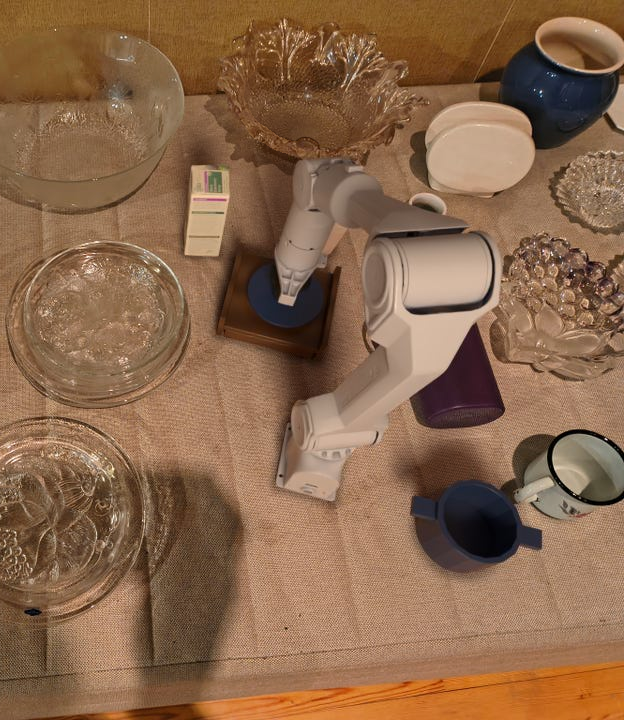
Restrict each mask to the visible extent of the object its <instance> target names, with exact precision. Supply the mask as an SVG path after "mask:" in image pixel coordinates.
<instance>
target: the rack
mask: <svg viewBox="0 0 624 720" xmlns="http://www.w3.org/2000/svg"><path fill="white" fill-rule="evenodd" d="M245 247H246V243H245V242H243V241H242V242H241V241H240V242H239V246H238V250H237V254H236V257H235V261H234V265H233V267H232V272H231V276H230V279H229V284H228V288H227V291H226V294H225V298H224V302H223V305H222V310H221V312H220V317H219V321H218V324H217V329H216V333H215V335H216V336H220V337H221V336H222V333H223V330H224V333H223V337H224V338H228V339H232V340H235V341H239V342H243V343H247V344H251V345H255V346H258V347H263V348H267V349H271V350H274V351H279V352H281V353H285V354H290V355H295V356H297V357H301V358H306V359H308V360H311V359H312V357H313V361H316V362H320V359H321V358H322V356H323V354H324V352H325V351H326V350H327V348H328V346H329V340H330V336H331V330H332V324H333V318H334V313H335V306H336V303H337V302H336V301H337V296H338V290H339V284H340V279H341V273H342V266H339V265H336V266H335V267H334V270H333V272H330V271H329V272H328V271H326V270H325V271H324V270H321V269H317V268H316V269H315V270H314V271H313V273H312V274H313V275H314V276H315V278H316V279H317V280H318V282H319V283H320V285H321V287H322V290H323V295H324V301H323V306H322V308H321V311H320V312H319V314H318V315H317V317H316V318H315V319H314V320H312V321H311V322H309V323H308V324H306V325H303V326H300V327H294V328H285V327H279V326H275V325H272V324H270V323H268V322H266V321H265V320H263V319H262V318H261V317H259V316H258V315H257V314H256V313H255V311H254V310H253V309H252V307H251V305H250V303H249V300H248V295H247V289H248V284H249V281H250V279H251V277H252V276H253V274H254V273H255V272H256V271H257V270H258V269H260V268H261V267H263V266H265V265H268V264H271V263H276V262H275V258H272V257H269V256H264V255H260V254H255V253H253V252H252V253H251V252H248V251H245Z"/></svg>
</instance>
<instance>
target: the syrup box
mask: <svg viewBox="0 0 624 720" xmlns="http://www.w3.org/2000/svg"><path fill="white" fill-rule="evenodd" d="M230 185H231V184H230V167H229V166H225V165H215V164H213V165H211V164H202V165H201V164H200V165H193V164H192V165H191V166H190V174H189V181H188V189H187V199H186V206H185V207H186V208H185V216H184V226H183V255H185V256H193V257H195V256H196V257H219V255H220V251H221V246H222V241H223V236H224V231H225V226H226V221H227V215H228V209H229V205H230V198H231V186H230Z"/></svg>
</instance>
